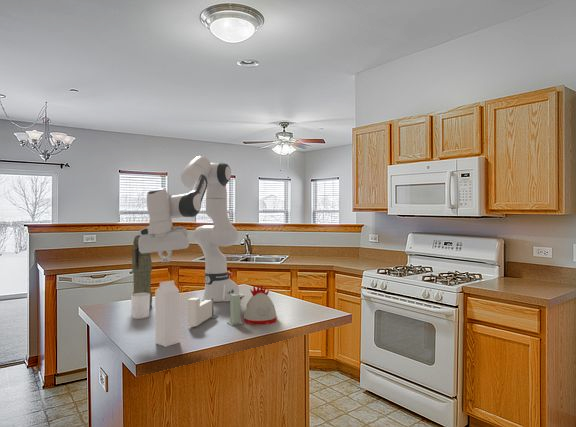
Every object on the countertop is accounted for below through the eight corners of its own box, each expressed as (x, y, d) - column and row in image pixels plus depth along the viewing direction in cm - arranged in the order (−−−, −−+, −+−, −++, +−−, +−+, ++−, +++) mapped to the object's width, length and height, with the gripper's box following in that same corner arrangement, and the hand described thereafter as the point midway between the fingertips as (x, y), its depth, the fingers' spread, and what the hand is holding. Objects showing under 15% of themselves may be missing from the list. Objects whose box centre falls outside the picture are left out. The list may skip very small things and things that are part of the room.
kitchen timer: (240, 317, 178) (240, 283, 178) (270, 314, 183) (270, 281, 183) (248, 326, 165) (248, 289, 165) (280, 322, 170) (280, 286, 170)
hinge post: (211, 314, 184) (211, 296, 184) (220, 316, 180) (220, 298, 180) (201, 317, 179) (200, 299, 179) (210, 319, 175) (209, 301, 175)
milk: (179, 342, 145) (179, 281, 145) (165, 347, 140) (164, 283, 140) (169, 339, 149) (169, 279, 149) (155, 343, 144) (154, 281, 144)
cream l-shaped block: (205, 315, 178) (204, 291, 178) (212, 316, 177) (212, 292, 177) (188, 325, 163) (187, 299, 162) (196, 326, 162) (195, 299, 162)
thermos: (127, 310, 193) (126, 236, 192) (140, 304, 204) (139, 234, 204) (144, 310, 191) (143, 236, 191) (156, 305, 203) (156, 234, 202)
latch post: (227, 323, 169) (226, 294, 169) (237, 321, 172) (237, 293, 172) (232, 326, 165) (232, 296, 165) (243, 324, 168) (243, 295, 168)
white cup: (130, 319, 176) (130, 296, 176) (132, 315, 183) (132, 293, 183) (149, 318, 178) (149, 295, 178) (150, 314, 186) (150, 292, 185)
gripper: (188, 224, 168) (193, 257, 169) (141, 230, 170) (146, 262, 171) (183, 226, 162) (188, 260, 163) (134, 231, 164) (139, 265, 165)
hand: (166, 261), depth 167 cm, fingers closed
